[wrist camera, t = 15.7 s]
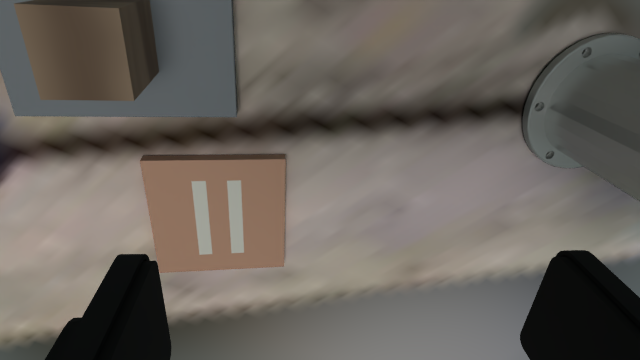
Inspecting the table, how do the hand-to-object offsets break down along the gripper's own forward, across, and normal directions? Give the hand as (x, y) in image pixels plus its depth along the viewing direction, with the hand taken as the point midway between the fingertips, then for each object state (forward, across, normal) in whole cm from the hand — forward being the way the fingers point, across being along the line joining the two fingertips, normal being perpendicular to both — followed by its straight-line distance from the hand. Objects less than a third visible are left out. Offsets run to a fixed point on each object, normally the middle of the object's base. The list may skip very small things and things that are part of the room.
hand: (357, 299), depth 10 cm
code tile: (+25, +7, +14) cm, 30 cm away
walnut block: (+24, +13, -2) cm, 27 cm away
